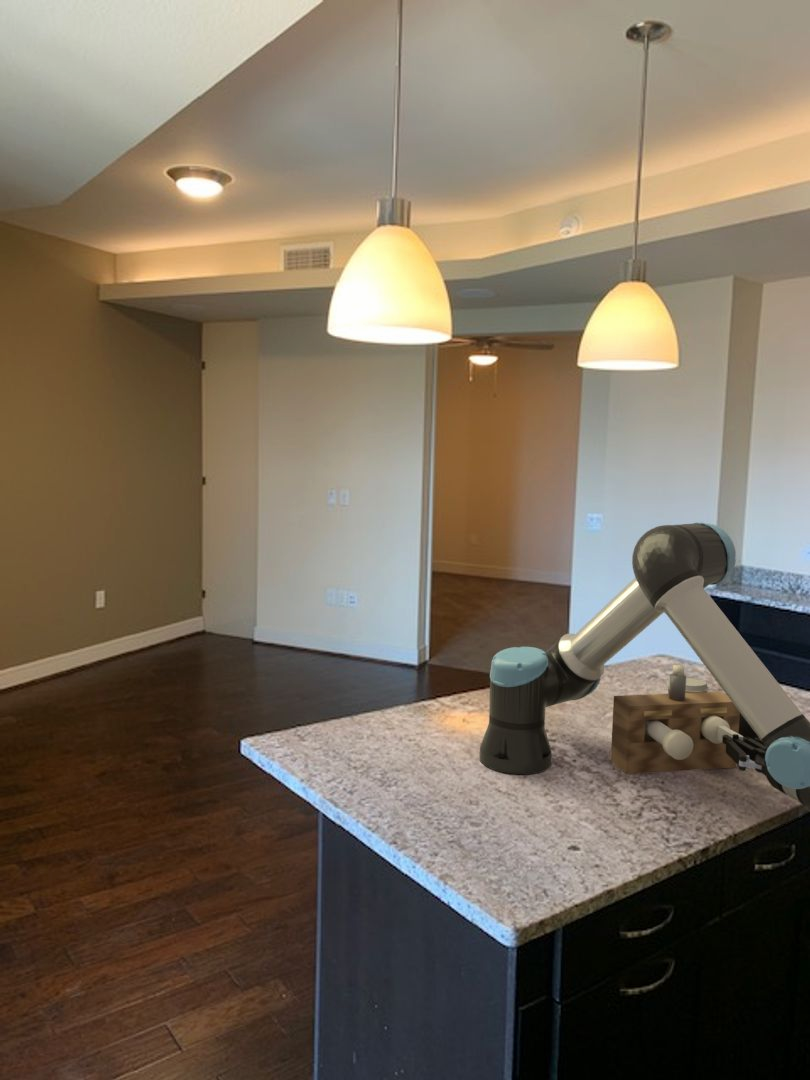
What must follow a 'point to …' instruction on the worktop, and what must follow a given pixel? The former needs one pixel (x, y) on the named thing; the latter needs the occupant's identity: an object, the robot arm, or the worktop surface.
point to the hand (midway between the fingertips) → (720, 732)
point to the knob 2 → (712, 727)
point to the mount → (645, 753)
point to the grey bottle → (677, 684)
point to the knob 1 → (670, 739)
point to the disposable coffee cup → (693, 685)
